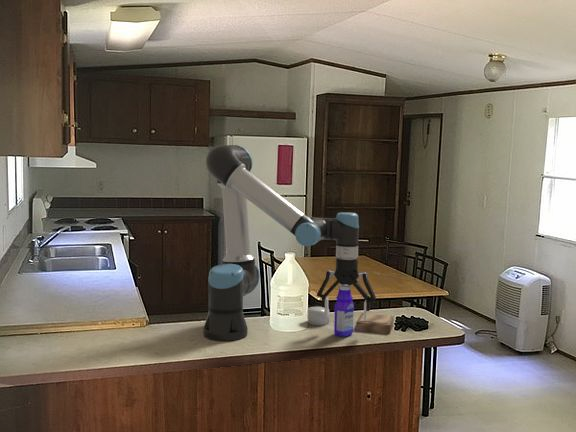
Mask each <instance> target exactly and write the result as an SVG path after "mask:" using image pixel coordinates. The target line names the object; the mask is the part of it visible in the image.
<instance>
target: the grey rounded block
mask: <svg viewBox="0 0 576 432" xmlns="http://www.w3.org/2000/svg"><path fill="white" fill-rule="evenodd" d="M307 319H308V322H309V323H310V324H309V323H308V322H307V323H308V324H309V325H311V324H312V326H327V325H329V324H330V309H329V308H328V317H327V318H325V308H322V306H311V307H308V308H307ZM326 324H327V325H326Z"/></svg>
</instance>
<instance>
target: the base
mask: <svg viewBox="0 0 576 432" xmlns="http://www.w3.org/2000/svg"><path fill="white" fill-rule="evenodd" d="M394 318H395V316H394V315H384V314H375V313H367V320H366V321H364V312H363V313H362V312H361V313H360V315H359V317H358V318H357V320H356V325H355V326H356V328H355V330H356V331H362V332H364V331H365V332H373V333H374V332H375V333H381V334H382V333H383V334H391V332H392V329H393V326H394V321H395V319H394Z"/></svg>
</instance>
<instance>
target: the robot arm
mask: <svg viewBox="0 0 576 432" xmlns="http://www.w3.org/2000/svg"><path fill="white" fill-rule="evenodd" d="M253 164H254V163H253V157H252V154H251V153H250V152H249V151H248V150H247V148H245V147H243V146H240V145H238V144H218V145H216V146H214V147H212V149H210V150H209V151H208V153H207V154H206V157H205V166H206V169H207V171H208V173H209V174H210V175H211V176H212V177H213V178H214V179H216V183H217V184H216V185H218V187H220V188H221V195H222V208H223V221H224V223H223V224H224V235H225V236H224V237H225V238H224V239H225V249H226V255H225V256H224V257H223V258H222V264H217V265H215V266H212V268H210V270H209V272H208V278H207V280H208V281H207V282H208V311H207V312H208V313H207V317H206V318H205V322H204V325H203V329H202V332H203V334H202V335H203V336H204V337H205V338H206V339H208V340H212V341H220V342H222V341H223V342H226V341H227V342H228V341H229V342H231V341H236V340H242V339H244V338H245V337H246V338H247V336H248V334H249V333H248V331H249V329H248V325H247V321H246V319H245V315H244V311H243V309H244V307H243V306H244V297H245V296H247V295H248V294H251V293H252V292H253V291H254V290H255V289H256V287H257V286H258V285H259V282H260V279H261V274H260V270H259V267H258V266H257V265H256V258H255V256H254V255H253V254H252V253H251V245H250V243H251V242H250V229H249V215H248V213H249V212H248V201H250V203H252V204H253V205H254V206H255V207H257V208H259V210H261V211H262V212H264V213H265V214H266V215H267V216H269V217H270V218H271V219H272V220H274V221H275V222H276V223H278V224H279V225H280V226H282V227H283V228H284V229H286V230H287V231H288V232H289V233H291V234H292V235H293V236H294V237H295V239H296V241H297V242H298V243H299V245H301V246H304V247H310V246H314V245H316V244H317V243H319V242H320V241H322V240H324V241H325V240H326V241H328V240H329V241H335V242H336V244H335V257H336V259H335V271H333V270H330V269H328V270H326V273H325V277H324V280H323V281H322V284H321V286H320V287H319V289H318V292H317V293H316V297H319V298H321V307H322V308H325V318H327V317H328V309H329V297H327V296H329V295H330V294H331V293H332V292H333V290H334V289H335V288H336V286H339V285H350V286H354V287H355V289H356V290H357V291H358V292H359V294H360V295H361V297H363V299H364V302H363V313H364V321H366V320H367V314H368V312H370V311H371V302H374V301H375V300H376V298H377V296H376V294H375V292H374V290H373V288H372V285H371V284H370V281H369V279H368V273H367V272H366V271H364V272H359V268H358V267H359V259H358V257H359V234H360V231H359V230H360V225H359V215H358V214H357V213H356V212H348V211H347V212H338V213H336V217H333V218H332V217H330V218H328V217H315V216H310V217H309V216H307V215H306V214H305V213H303V212H302V211H301V210H299V208H297V207H296V206H294V205H293V204H292V203H291V202H289V201H288V200H287V199H286V198H284V197H283V196H282V195H280V194H278V193H277V192H276V191H275V190H274V189H272V188H271V187H270V186H269V185H267V184H266V183H264V182H263V181H262V180H261V179H259V178H258V177H257V176H255V175H254V174H253V173H252V172H251V170H252V169H253ZM333 276H334V277H335V279H336V281H334V282H333V284H332V285H331V286H330V287H329V288H328V289H327V290H326V292H324V291H325V288H326V287H327V284H328V283H329V281H330V279H331V278H332V277H333ZM359 277H360V279H361V280H362V281H363V283H364V286H365V289H366V290H367V292H366V291H365V289H364V288H363V286H362V285H361V284H360V283H359V281H358V278H359ZM323 292H324V293H323Z"/></svg>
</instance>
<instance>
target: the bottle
mask: <svg viewBox="0 0 576 432" xmlns="http://www.w3.org/2000/svg"><path fill="white" fill-rule="evenodd" d="M351 286H352V285H341V284H338V291H337V292H338V293H337V295H336V297H335V299H336V302H335V305H334V325H333V328H334V329H333V332H334V334H335V335H336V336H337V337H341V338H342V337H348V336H350V335H352V334H353V332H354V316H355V315H354V314H355V313H354V311H355V307H354V306H355V305H354V302H353V300H354V299H353V295H352V293H351V290H352V288H351Z"/></svg>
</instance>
